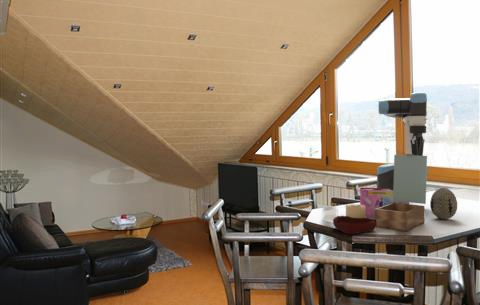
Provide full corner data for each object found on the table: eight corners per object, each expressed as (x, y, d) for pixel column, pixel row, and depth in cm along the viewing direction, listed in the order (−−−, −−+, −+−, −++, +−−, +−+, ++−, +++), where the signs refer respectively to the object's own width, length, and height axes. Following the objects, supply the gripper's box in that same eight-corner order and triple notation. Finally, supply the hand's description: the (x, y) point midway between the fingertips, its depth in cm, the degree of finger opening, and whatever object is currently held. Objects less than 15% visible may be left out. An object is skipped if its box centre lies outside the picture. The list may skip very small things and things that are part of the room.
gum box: (409, 215, 213) (410, 188, 212) (411, 218, 205) (411, 190, 204) (360, 213, 219) (360, 187, 219) (359, 216, 212) (360, 189, 211)
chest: (374, 227, 188) (374, 209, 187) (394, 219, 204) (394, 202, 204) (406, 231, 179) (406, 212, 178) (424, 223, 195) (424, 205, 195)
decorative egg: (462, 221, 198) (463, 189, 198) (438, 221, 197) (438, 189, 197) (448, 216, 210) (448, 186, 209) (425, 216, 209) (425, 186, 208)
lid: (393, 153, 203) (395, 153, 204) (392, 200, 203) (393, 200, 204) (425, 154, 193) (427, 154, 194) (424, 204, 193) (425, 203, 195)
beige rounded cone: (342, 220, 202) (342, 205, 202) (351, 217, 209) (351, 203, 208) (360, 223, 196) (360, 207, 196) (368, 220, 203) (368, 205, 202)
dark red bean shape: (327, 233, 178) (327, 221, 177) (337, 225, 192) (337, 214, 192) (370, 238, 169) (371, 225, 169) (378, 229, 184) (378, 218, 184)
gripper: (421, 124, 198) (420, 175, 199) (430, 125, 208) (429, 173, 209) (405, 125, 203) (404, 174, 204) (414, 125, 213) (414, 172, 214)
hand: (417, 173), depth 206 cm, fingers closed
